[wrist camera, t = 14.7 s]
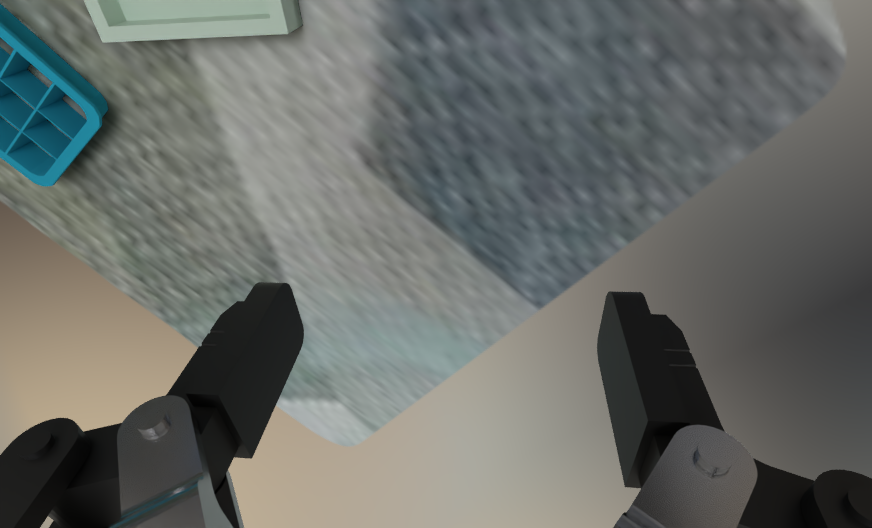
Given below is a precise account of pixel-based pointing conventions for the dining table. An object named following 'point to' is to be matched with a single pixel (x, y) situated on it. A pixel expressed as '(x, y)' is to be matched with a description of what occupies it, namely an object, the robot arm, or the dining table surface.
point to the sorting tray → (191, 18)
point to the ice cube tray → (42, 106)
